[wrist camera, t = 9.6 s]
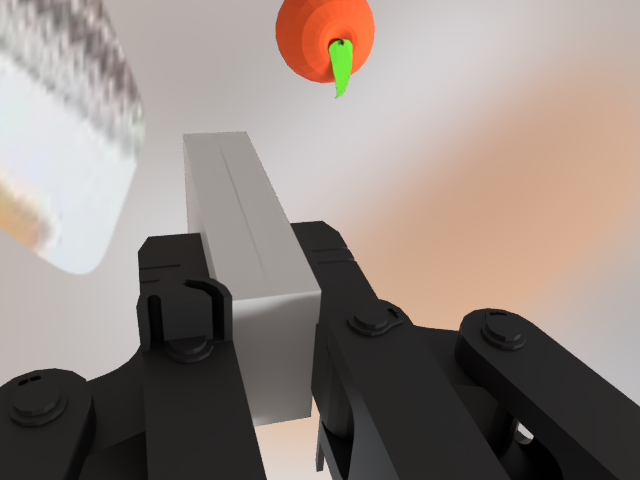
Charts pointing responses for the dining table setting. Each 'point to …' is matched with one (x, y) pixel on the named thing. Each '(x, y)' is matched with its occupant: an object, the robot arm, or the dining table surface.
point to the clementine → (325, 38)
